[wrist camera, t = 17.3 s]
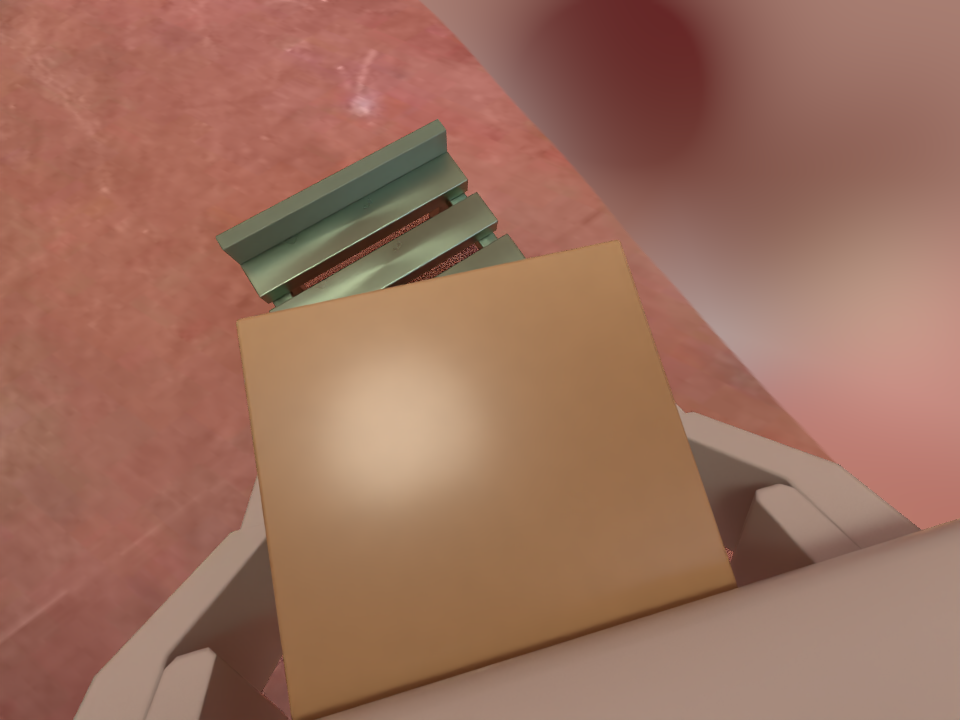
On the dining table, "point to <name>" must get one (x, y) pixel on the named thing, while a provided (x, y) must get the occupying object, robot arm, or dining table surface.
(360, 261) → the rack
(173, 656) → the robot arm
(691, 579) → the block
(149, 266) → the dining table surface
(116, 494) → the dining table surface
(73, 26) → the dining table surface
